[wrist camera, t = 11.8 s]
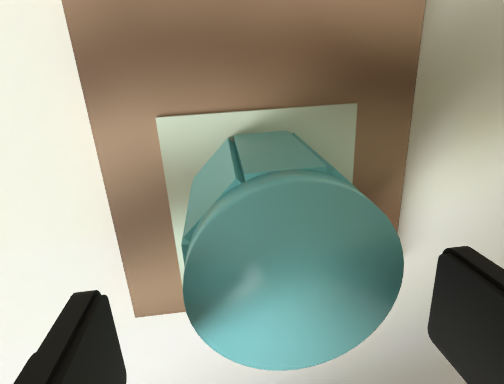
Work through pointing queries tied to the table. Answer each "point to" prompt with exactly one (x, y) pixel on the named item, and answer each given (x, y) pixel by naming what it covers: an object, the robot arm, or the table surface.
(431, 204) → the table surface
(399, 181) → the post board
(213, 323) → the teal cap
